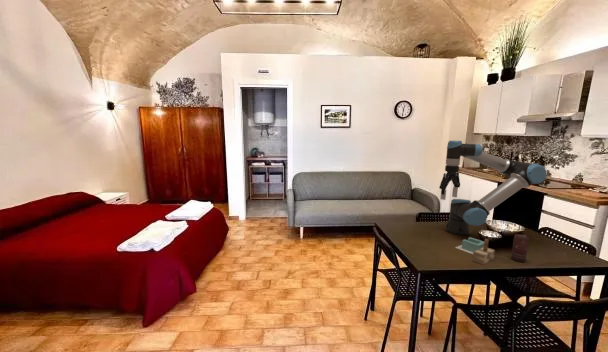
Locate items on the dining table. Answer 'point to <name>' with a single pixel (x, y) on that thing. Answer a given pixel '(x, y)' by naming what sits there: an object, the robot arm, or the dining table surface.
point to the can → (520, 247)
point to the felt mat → (463, 249)
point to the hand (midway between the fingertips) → (448, 198)
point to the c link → (472, 244)
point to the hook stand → (483, 254)
